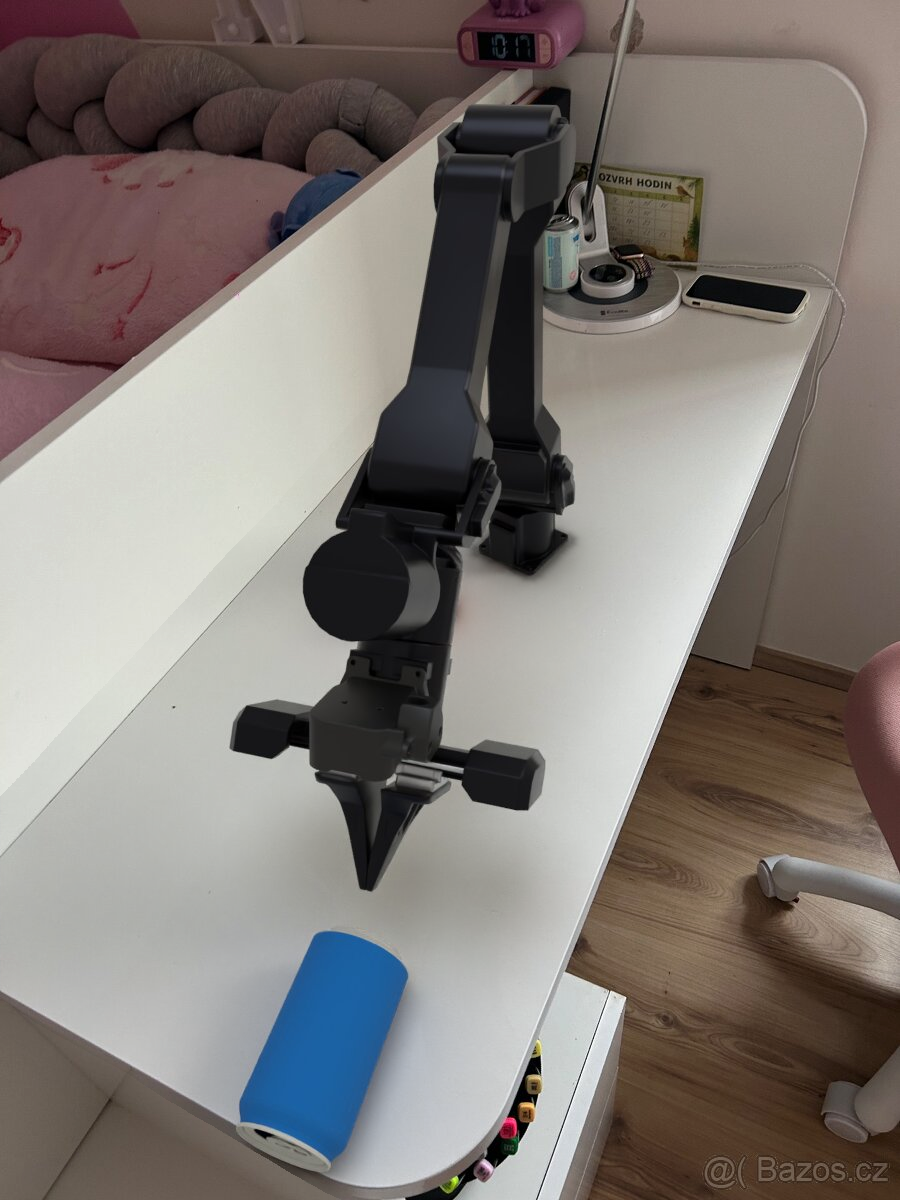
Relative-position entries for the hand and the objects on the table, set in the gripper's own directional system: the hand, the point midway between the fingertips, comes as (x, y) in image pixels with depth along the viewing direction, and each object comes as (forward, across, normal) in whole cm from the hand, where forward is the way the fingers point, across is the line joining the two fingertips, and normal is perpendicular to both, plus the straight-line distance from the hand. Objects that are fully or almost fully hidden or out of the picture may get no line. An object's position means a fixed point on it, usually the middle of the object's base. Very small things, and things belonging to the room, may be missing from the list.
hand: (368, 889), depth 57 cm
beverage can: (+4, 0, +2) cm, 5 cm away
